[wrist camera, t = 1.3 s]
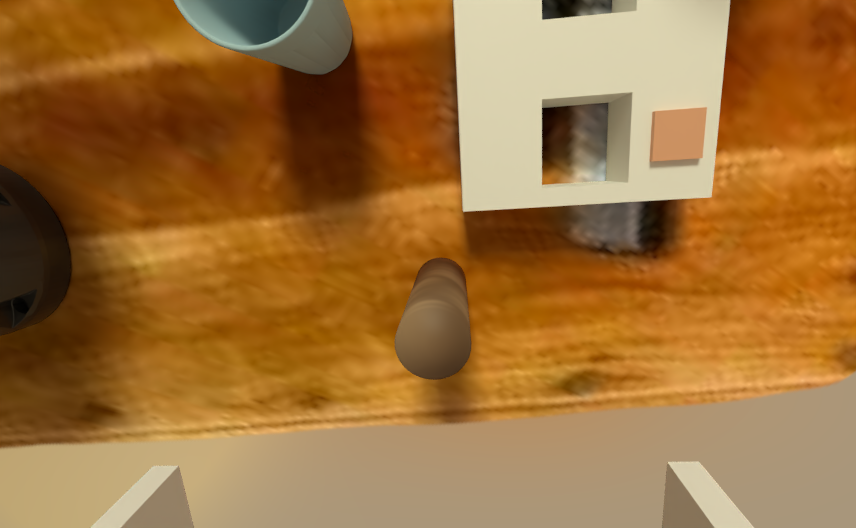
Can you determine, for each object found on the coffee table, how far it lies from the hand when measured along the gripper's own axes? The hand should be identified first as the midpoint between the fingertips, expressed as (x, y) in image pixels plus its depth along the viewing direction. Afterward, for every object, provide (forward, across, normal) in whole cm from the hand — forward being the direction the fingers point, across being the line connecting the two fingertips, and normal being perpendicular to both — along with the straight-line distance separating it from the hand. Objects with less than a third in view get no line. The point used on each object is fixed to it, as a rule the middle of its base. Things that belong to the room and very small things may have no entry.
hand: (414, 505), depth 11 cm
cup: (+22, -8, +19) cm, 31 cm away
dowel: (+22, 0, 0) cm, 22 cm away
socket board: (+22, +10, +15) cm, 29 cm away
